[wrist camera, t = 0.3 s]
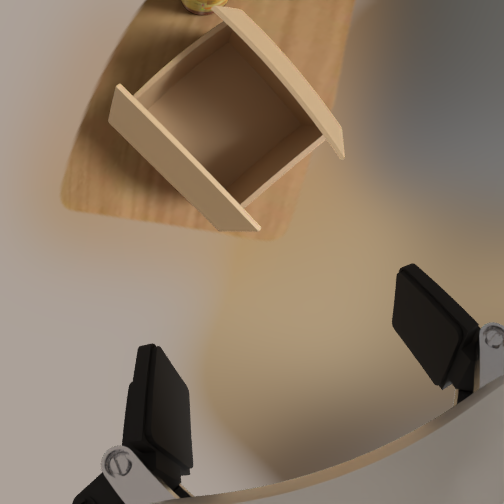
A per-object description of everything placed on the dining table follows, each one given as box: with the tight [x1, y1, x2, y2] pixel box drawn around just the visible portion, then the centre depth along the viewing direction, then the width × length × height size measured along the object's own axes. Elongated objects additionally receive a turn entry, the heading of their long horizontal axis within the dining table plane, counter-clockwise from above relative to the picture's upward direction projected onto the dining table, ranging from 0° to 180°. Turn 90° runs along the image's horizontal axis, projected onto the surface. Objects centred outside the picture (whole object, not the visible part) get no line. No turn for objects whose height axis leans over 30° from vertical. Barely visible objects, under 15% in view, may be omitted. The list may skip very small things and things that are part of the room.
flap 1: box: [108, 84, 261, 231], centre depth 23 cm, size 7×16×1 cm
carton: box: [133, 21, 326, 209], centre depth 29 cm, size 16×16×10 cm
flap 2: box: [211, 5, 345, 160], centre depth 21 cm, size 7×16×1 cm
